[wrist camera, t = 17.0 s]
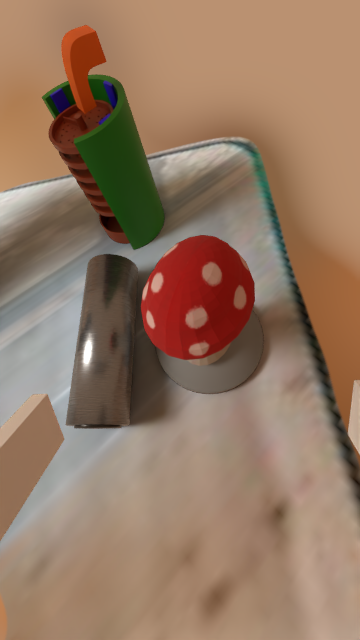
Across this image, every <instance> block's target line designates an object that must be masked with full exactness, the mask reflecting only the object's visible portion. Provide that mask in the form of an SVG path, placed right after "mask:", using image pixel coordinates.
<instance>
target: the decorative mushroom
mask: <svg viewBox="0 0 360 640" xmlns="http://www.w3.org/2000/svg"><path fill="white" fill-rule="evenodd" d="M254 302H255V288H254V281H253V278H252V276H251V273H250V271H249V268H248V266H247V263H246V261H245V260H244V259H243V258H242V257H241V256H240V255H239V254H238V253H237V251H236V250H234V249H233V248H232V247H231V246H229V244H228V243H226V242H224V241H222V240H220V239H218V238H216V237H213V236H206V235H200V236H195V237H189V238H187V239H185V240H183V241H181V242H179V243H177V244H176V245H175V246H173V247H172V248H171V249H170V250H168V251H167V252H166V253H165V254H164V256H163V257H162V258H161V259H160V261H159V262H158V263H157V265H156V267H155V269H154V270H153V272H152V273H151V274H150V276H149V278H148V280H147V283H146V285H145V287H144V289H143V295H142V302H141V312H142V318H143V324H144V329H145V331H146V333H147V335H148V336H149V338H150V340H151V341H152V343H153V344H154V345H155V346H156V347H158V348H159V349H160V350H162V351H163V352H164V353H166V354H167V355H168V356H171V357H175V358H179V359H182V360H187V361H189V362H190V363H191V364H194V365H198V366H203V365H209V364H211V363H213V362H215V361H217V360H218V359H219V358H220V357H222V356H223V355H224V354H225V352H226V351H227V349H228V348H229V346H230V344H231V342H232V341H233V340H234V339H235V338H236V337H237V336H238V335H239V334H240V332H241V331H242V329H243V328H244V326H245V325H246V323H247V322H248V320H249V318H250V315H251V312H252V308H253V305H254Z"/></svg>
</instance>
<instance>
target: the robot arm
mask: <svg viewBox="0 0 360 640" xmlns="http://www.w3.org/2000/svg"><path fill="white" fill-rule="evenodd" d="M348 436H349V437H350V439H351V441H352V442H353V444H354V446H355V448H356V449H357V451H358V452H359V454H360V380H354V386H353V395H352V403H351V411H350V420H349V428H348ZM63 441H64V437H63V434H62V431H61V429H60V426H59V423H58V421H57V418H56V416H55V413H54V410H53V408H52V405H51V402H50V400H49V397H48V395H47V394H35V395H31V397H30V398H29V399H28V400H27V401H26V402H25V403H24V404H23V405H22V406H21V407H20V408H19V409H18V410H17V411H16V412H15V413H14V415H13V416H12V417H11V418H10V419H9V420H8V421H7V422H6V423H5V424H4V425H3V426H2V427H1V428H0V541H1V539H2V538H3V536H4V534H5V533H6V531H7V530H8V528H9V527H10V525H11V523H12V522H13V520H14V519H15V517H16V515H17V514H18V512H19V511H20V509H21V507H22V506H23V504H24V503H25V501H26V500H27V498H28V496H29V495H30V493H31V492H32V490H33V488H34V487H35V485H36V484H37V482H38V480H39V479H40V477H41V476H42V474H43V473H44V471H45V469H46V468H47V466H48V465H49V463H50V461H51V460H52V458H53V457H54V455H55V454H56V452H57V450H58V449H59V447H60V446H61V444H62V442H63Z"/></svg>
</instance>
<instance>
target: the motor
mask: <svg viewBox="0 0 360 640" xmlns="http://www.w3.org/2000/svg"><path fill="white" fill-rule="evenodd" d="M62 57H63V63H64V67H65V71H66V74H67V78H68V81H67V82H64V83H62V84H60V85H58V86H57V87H55V88H53V89H52V90H50V91H49V92H48V93H46V94H45V95H44V96H43V97H42V99H43V100H44V102H45V104H46V106H47V107H48V109H49V111H50V112H51V114H52V116H53V117H54V121H53V123H52V124H51V126H50V129H49V138H50V140H51V142H52V144H53V145H54V147H55V148H56V149H57V150H58V151H59V154H60V156H61V157H62V159H63V161H64V162H65V163H66V165H68V168H69V170H70V171H71V173H72V175H73V176H74V178H76V180H77V183H78V184H79V186H80V187H81V189H82V190H83V191H84V193H85V195H86V197H87V198H88V200H89V201H90V202H91V205H92V206H93V208H94V209H95V211H96V212H97V213H99V214H100V215H99V219H100V223H101V225H102V226H103V228H104V229H105V231H106V232H107V234H108V235H109V237H110V238H111V239H112V240H114V241H116V242H118V243H124V244H128V243H130V244H131V245H132V247H133V249H134V250H135V249H138V248H140V247H143V246H145V245H146V244H148V243H149V242H151V241H152V240H153V239H154V238H155V237H156V236H157V235H158V233H159V232H160V230H161V229H162V226H163V224H164V218H165V216H164V210H163V207H162V204H161V201H160V198H159V195H158V192H157V189H156V186H155V183H154V180H153V177H152V173H151V170H150V167H149V164H148V161H147V158H146V155H145V152H144V149H143V146H142V143H141V140H140V137H139V134H138V131H137V128H136V125H135V122H134V119H133V115H132V112H131V110H130V107H129V103H128V100H127V97H126V94H125V91H124V88H123V86H122V84H121V83H120V82H119V81H118V80H116V79H115V78H112V77H110V76H106V75H88V72H89V70H90V69H91V68H93V67H95V66H97V65H99V64H102V63H105V62H106V59H105V56H104V53H103V50H102V48H101V45H100V42H99V39H98V36H97V33H96V31H94V30H93V29H92V28H90V27H89V26H87V25H85V26H82V27H78V28H75V29H73V30H71V31H69V32H68V33H66V34H65V36H64V37H63V40H62Z"/></svg>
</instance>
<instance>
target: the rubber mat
mask: <svg viewBox="0 0 360 640" xmlns="http://www.w3.org/2000/svg"><path fill="white" fill-rule="evenodd" d="M263 342H264V340H263V331H262V327H261V324H260V321H259V319H258V317H257V315H256V314H255V313H254V311H253V310H252V312H251V315H250V318H249V320H248V322H247V323H246V325H245V326H244V328H243V329H242V331H241V332H240V334H239V335H238V336H237V337H236V338H235V339H234V340H233V341H232V342H231V344H230V346H229V348H228V349H227V351H226V352H225V354H224V355H223V356H222V357H220V358H219V359H218V360H217V361H215V362H213V363H211V364H209V365H203V366H198V365H194V364H191V363H190V362H189V361H187V360H182V359H179V358H175V357H171V356H168V355H167V354H166V353H164V352H163V351H162V350H160V349H159V348H158V347H156V351H157V356H158V359H159V362H160V364H161V366H162V367H163V369H164V370H165V372H166V373H167V374H168V375H169V377H170V378H171V379H172V380H174V381H175V382H176V383H177V384H179V385H180V386H182V387H183V388H186V389H188V390H190V391H193V392H197V393H202V394H216V393H222V392H226V391H228V390H231V389H233V388H235V387H237V386H239V385H240V384H241V383H243V382H244V381H245V380H246V379H247V378H248V377H249V376H250V375H251V374H252V373H253V371H254V370H255V368H256V367H257V365H258V363H259V360H260V358H261V355H262V350H263Z"/></svg>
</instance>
